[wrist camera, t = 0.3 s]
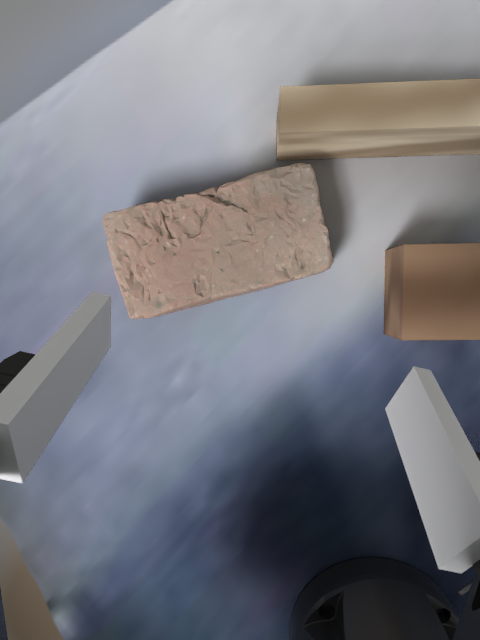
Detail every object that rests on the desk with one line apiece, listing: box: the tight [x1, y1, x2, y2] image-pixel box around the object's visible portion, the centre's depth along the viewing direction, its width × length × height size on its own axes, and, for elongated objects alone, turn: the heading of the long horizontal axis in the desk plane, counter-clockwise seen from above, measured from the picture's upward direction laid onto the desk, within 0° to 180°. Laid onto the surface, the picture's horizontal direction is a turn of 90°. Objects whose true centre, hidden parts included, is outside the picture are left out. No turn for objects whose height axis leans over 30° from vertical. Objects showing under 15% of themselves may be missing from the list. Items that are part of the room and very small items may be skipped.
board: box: [276, 78, 480, 160], centre depth 26 cm, size 3×21×5 cm, turn 91°
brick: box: [103, 163, 333, 319], centre depth 28 cm, size 16×8×5 cm, turn 104°
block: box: [384, 243, 480, 340], centre depth 27 cm, size 7×7×4 cm
